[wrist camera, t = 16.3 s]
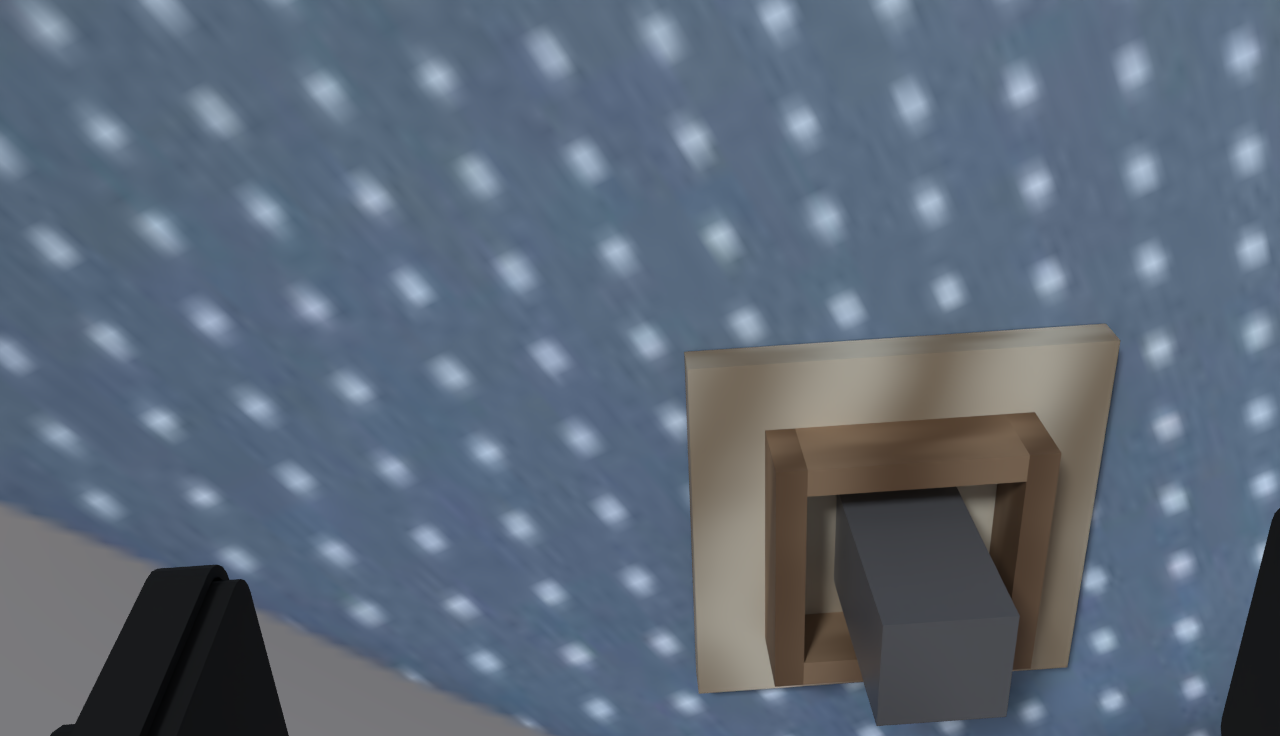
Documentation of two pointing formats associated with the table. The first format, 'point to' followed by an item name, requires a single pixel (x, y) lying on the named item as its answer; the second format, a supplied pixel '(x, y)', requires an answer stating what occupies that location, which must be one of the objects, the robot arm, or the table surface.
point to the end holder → (885, 482)
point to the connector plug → (923, 606)
